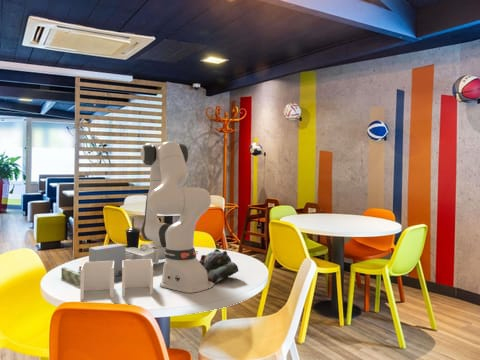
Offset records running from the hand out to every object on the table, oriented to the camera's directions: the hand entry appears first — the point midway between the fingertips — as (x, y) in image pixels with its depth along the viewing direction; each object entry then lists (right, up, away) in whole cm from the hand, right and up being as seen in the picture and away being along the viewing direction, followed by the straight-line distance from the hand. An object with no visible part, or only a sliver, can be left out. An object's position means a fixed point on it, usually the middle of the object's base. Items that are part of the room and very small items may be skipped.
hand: (121, 257), depth 176 cm
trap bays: (-6, -6, -6) cm, 10 cm away
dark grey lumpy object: (+44, -7, -12) cm, 46 cm away
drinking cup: (-3, -5, +29) cm, 30 cm away
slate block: (-5, -6, -5) cm, 9 cm away
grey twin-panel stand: (+8, -7, -30) cm, 32 cm away
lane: (-7, -6, -8) cm, 12 cm away
